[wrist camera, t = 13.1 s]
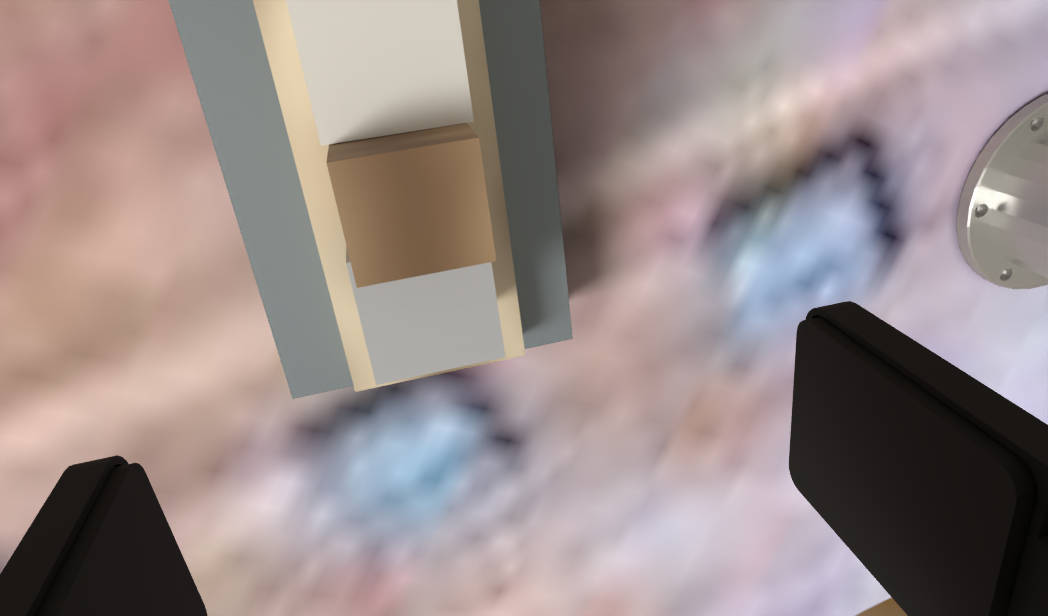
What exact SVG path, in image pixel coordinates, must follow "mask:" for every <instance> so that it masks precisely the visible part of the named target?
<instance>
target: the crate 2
mask: <svg viewBox="0 0 1048 616" xmlns="http://www.w3.org/2000/svg"><path fill="white" fill-rule="evenodd" d="M346 265H347V269H348V273H349V277H350V281H351V285H352V289H353V293H354V297H355V301H356V305H357V309H358V313H359V317H360V321H361V325H362V329H363V333H364V337H365V341H366V346H367V350H368V354H369V358H370V362H371V366H372V370H373V374H374V378H375V382H376V385H379V384H384V383H389V382H393V381H398V380H403V379H407V378H412V377H416V376H421V375H426V374H430V373H435V372H439V371H444V370H449V369H453V368H458V367H463V366H467V365H472V364H476V363H481V362H486V361H490V360H495V359H499V358H504V357H505V350H504V344H503V337H502V330H501V323H500V317H499V310H498V303H497V297H496V290H495V283H494V276H493V270H492V263H491V262H489V263H484V264H479V265H474V266H468V267H463V268H458V269H453V270H448V271H442V272H437V273H432V274H427V275H422V276H417V277H411V278H406V279H401V280H396V281H391V282H385V283H380V284H375V285H370V286H365V287H359V288H357V287H356V283H355V279H354V275H353V270H352V266H351V262H350V258H349V254H348V250H347V246H346Z"/></svg>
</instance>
